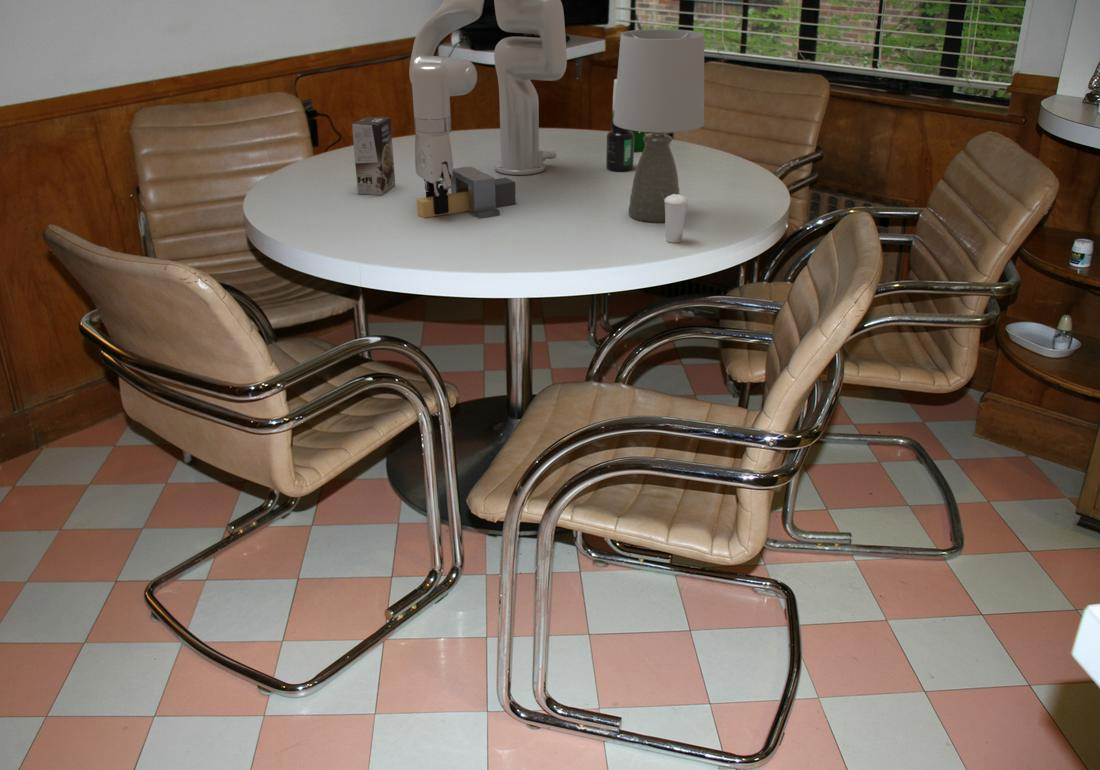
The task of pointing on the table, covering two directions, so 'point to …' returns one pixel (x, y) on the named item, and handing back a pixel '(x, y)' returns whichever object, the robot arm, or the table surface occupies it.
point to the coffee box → (373, 155)
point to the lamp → (658, 107)
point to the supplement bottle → (619, 149)
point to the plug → (461, 199)
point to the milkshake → (674, 217)
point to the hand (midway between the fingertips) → (437, 210)
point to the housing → (476, 190)
